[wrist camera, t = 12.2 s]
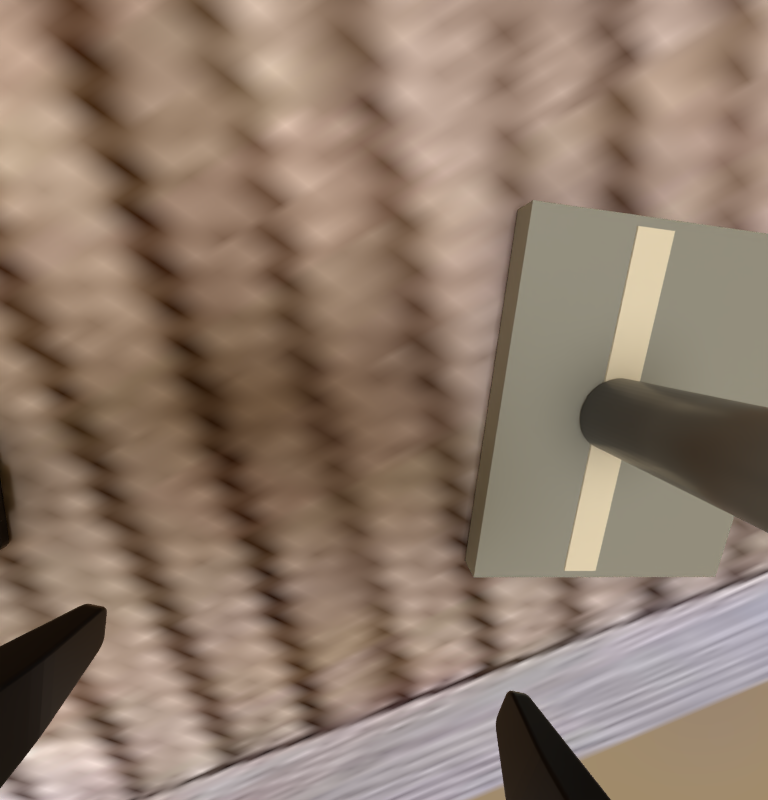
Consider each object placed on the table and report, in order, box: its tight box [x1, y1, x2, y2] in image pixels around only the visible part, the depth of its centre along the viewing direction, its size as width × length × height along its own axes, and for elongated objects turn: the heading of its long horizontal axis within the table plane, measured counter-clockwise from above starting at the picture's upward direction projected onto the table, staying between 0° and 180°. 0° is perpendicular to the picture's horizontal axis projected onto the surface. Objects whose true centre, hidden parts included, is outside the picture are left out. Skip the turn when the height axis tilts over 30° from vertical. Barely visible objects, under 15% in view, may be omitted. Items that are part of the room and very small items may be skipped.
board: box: [465, 200, 768, 577], centre depth 21 cm, size 16×20×2 cm
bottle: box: [580, 378, 768, 533], centre depth 13 cm, size 4×4×14 cm
